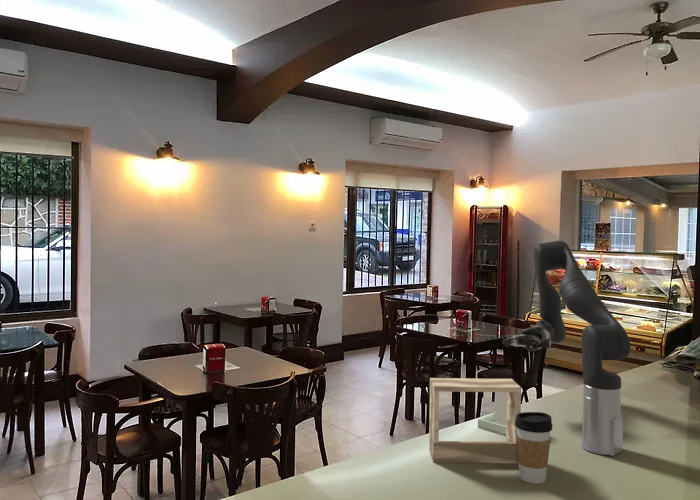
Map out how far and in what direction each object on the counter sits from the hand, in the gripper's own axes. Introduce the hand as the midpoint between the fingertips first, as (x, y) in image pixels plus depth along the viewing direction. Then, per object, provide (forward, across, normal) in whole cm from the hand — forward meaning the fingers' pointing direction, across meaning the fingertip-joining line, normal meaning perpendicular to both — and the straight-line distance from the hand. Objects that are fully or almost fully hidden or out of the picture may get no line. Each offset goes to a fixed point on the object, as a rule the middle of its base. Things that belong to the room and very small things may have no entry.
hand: (519, 345), depth 175 cm
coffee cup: (+39, +17, +24) cm, 49 cm away
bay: (+36, 0, +24) cm, 43 cm away
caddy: (+10, 0, +22) cm, 25 cm away
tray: (+10, 0, +23) cm, 25 cm away
